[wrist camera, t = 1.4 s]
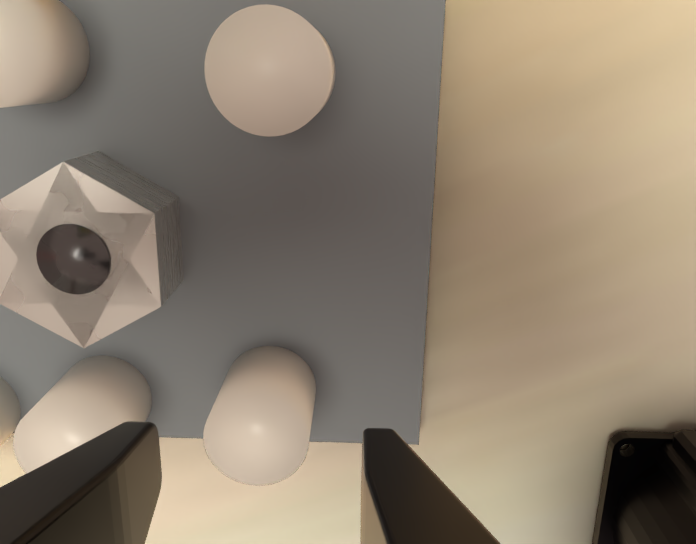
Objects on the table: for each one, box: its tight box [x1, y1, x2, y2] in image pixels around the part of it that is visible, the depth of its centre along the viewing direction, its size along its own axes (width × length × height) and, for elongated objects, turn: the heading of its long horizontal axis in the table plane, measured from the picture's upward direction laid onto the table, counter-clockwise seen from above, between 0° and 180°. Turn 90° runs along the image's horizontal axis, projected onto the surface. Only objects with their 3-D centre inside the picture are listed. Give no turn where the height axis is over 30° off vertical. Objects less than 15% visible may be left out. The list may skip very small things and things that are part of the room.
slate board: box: [0, 0, 446, 445], centre depth 20 cm, size 14×24×2 cm, turn 89°
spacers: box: [0, 0, 335, 485], centre depth 18 cm, size 14×14×3 cm
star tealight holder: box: [0, 151, 184, 348], centre depth 19 cm, size 5×5×2 cm
